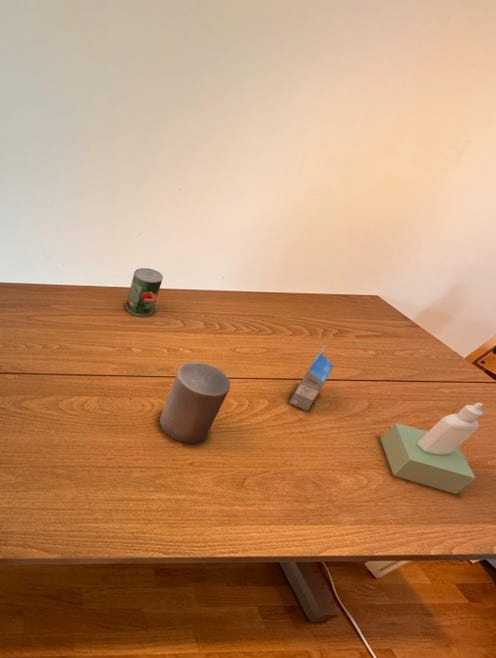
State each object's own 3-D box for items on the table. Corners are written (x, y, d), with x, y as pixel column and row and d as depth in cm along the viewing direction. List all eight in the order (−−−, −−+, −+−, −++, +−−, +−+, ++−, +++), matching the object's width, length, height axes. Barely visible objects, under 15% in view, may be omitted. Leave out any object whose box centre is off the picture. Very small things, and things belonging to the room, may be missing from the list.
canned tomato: (147, 319, 119) (157, 284, 112) (121, 309, 122) (129, 275, 115) (156, 307, 125) (166, 273, 118) (131, 298, 128) (140, 265, 121)
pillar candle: (215, 442, 85) (244, 388, 76) (171, 446, 84) (194, 392, 74) (192, 407, 92) (216, 354, 83) (151, 411, 91) (170, 357, 81)
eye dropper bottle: (454, 462, 77) (505, 418, 70) (417, 450, 79) (463, 405, 72) (448, 446, 80) (496, 401, 73) (413, 435, 82) (456, 390, 75)
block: (437, 454, 85) (454, 438, 82) (456, 494, 78) (476, 478, 75) (380, 438, 88) (395, 422, 85) (393, 475, 81) (410, 459, 77)
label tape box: (306, 411, 93) (336, 369, 85) (287, 402, 95) (314, 360, 87) (316, 392, 98) (345, 351, 90) (298, 384, 100) (324, 343, 92)
